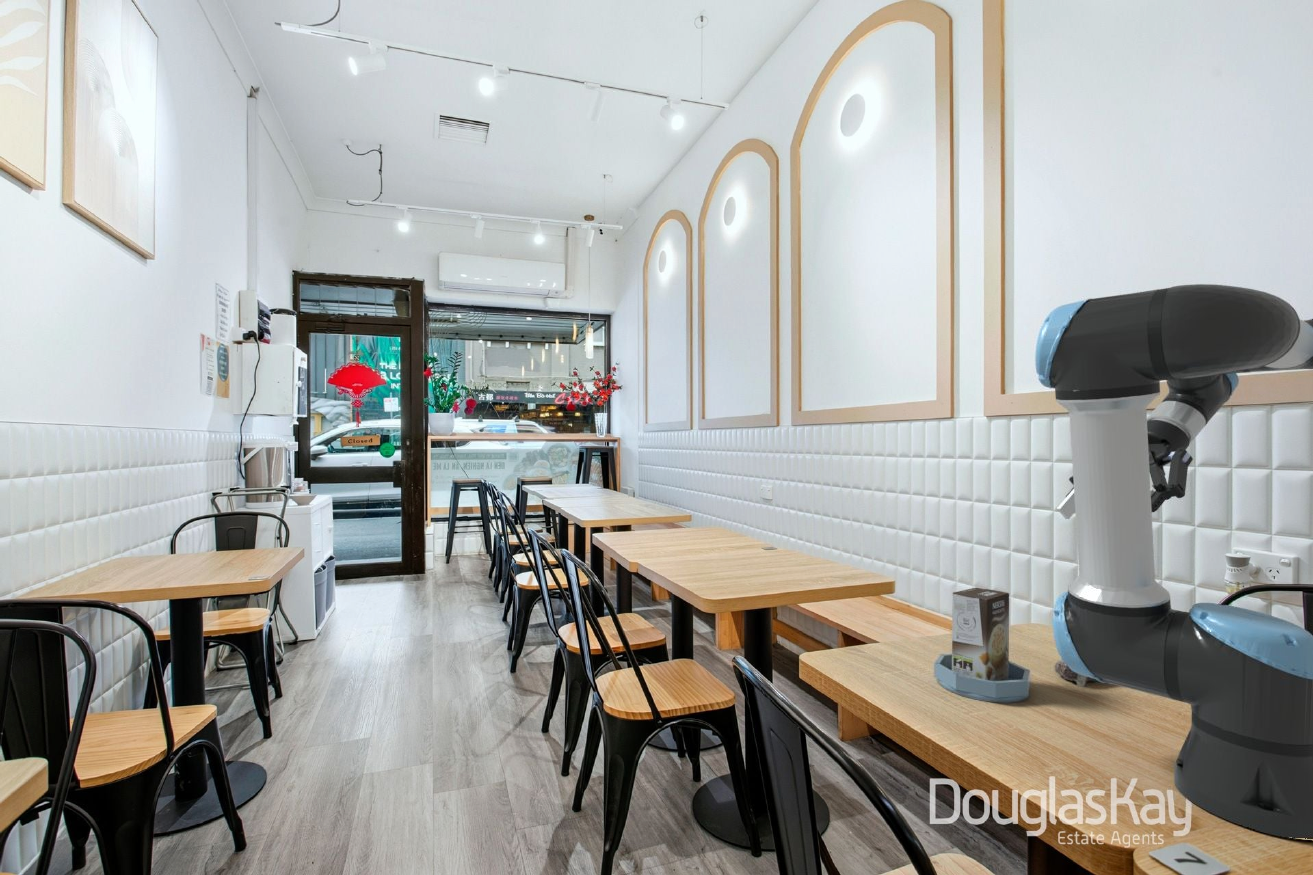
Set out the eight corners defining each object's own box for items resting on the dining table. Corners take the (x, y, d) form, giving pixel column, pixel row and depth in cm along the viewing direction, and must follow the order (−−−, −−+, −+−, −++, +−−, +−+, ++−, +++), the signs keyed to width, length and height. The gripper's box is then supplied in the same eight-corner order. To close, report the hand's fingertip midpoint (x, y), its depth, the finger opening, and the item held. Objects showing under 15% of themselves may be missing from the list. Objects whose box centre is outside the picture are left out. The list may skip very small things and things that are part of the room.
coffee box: (986, 691, 110) (986, 599, 110) (950, 680, 115) (950, 592, 115) (1010, 679, 115) (1010, 592, 115) (975, 669, 120) (975, 585, 120)
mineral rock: (1087, 665, 126) (1087, 643, 127) (1129, 679, 119) (1129, 655, 119) (1035, 674, 121) (1035, 652, 121) (1075, 689, 114) (1075, 665, 114)
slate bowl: (1049, 699, 109) (1049, 679, 109) (972, 705, 106) (972, 684, 106) (988, 669, 123) (988, 651, 123) (920, 673, 121) (920, 655, 121)
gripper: (1257, 448, 99) (1179, 544, 97) (1116, 447, 124) (1050, 524, 121) (1230, 414, 99) (1151, 510, 96) (1093, 420, 123) (1026, 497, 120)
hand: (1094, 518), depth 108 cm, fingers open, 13 cm apart
